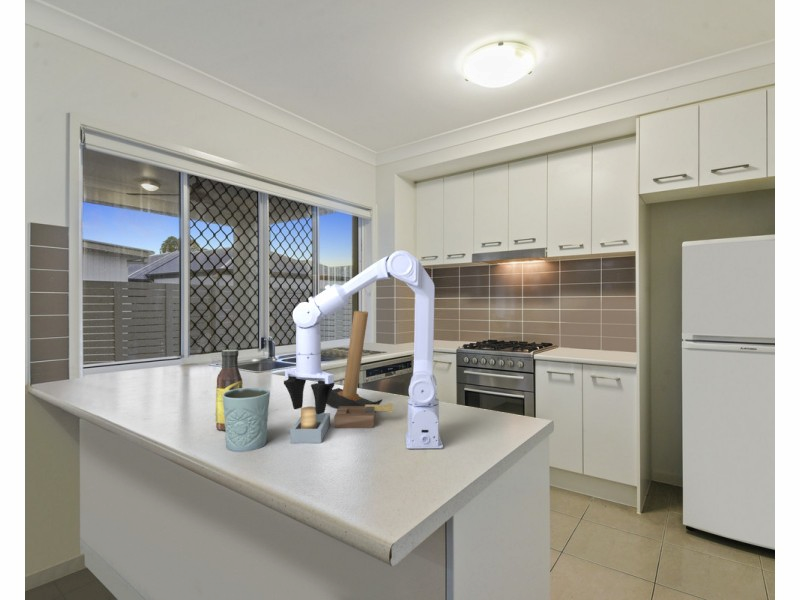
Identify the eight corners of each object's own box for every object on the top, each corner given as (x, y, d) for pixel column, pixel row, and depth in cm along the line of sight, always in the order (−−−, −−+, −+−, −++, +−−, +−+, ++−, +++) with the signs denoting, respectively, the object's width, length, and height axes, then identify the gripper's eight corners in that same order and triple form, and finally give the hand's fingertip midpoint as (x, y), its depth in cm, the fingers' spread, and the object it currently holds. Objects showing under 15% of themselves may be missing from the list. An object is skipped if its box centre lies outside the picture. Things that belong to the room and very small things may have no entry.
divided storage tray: (320, 443, 95) (320, 429, 95) (290, 443, 95) (290, 430, 95) (330, 424, 109) (330, 413, 109) (303, 424, 109) (303, 413, 109)
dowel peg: (319, 438, 98) (319, 409, 98) (304, 441, 96) (304, 411, 96) (312, 434, 101) (312, 405, 101) (298, 437, 99) (298, 408, 99)
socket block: (373, 427, 106) (373, 411, 106) (334, 428, 106) (334, 411, 106) (375, 416, 116) (375, 401, 116) (339, 416, 116) (339, 401, 116)
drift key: (392, 412, 110) (392, 405, 110) (364, 412, 110) (364, 406, 110) (392, 409, 113) (392, 402, 113) (365, 409, 113) (365, 403, 113)
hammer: (379, 418, 122) (394, 318, 119) (369, 422, 118) (384, 319, 115) (330, 397, 133) (342, 305, 130) (318, 400, 129) (331, 305, 126)
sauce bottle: (232, 432, 103) (232, 352, 103) (210, 430, 104) (210, 351, 104) (247, 424, 109) (247, 348, 109) (226, 423, 110) (226, 348, 110)
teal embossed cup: (254, 434, 101) (254, 385, 101) (279, 444, 95) (279, 391, 94) (213, 446, 93) (213, 392, 93) (237, 457, 87) (237, 399, 87)
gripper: (342, 353, 98) (343, 411, 98) (300, 349, 106) (300, 402, 106) (321, 357, 92) (321, 418, 92) (277, 352, 100) (278, 409, 100)
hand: (308, 410), depth 99 cm, fingers open, 7 cm apart
